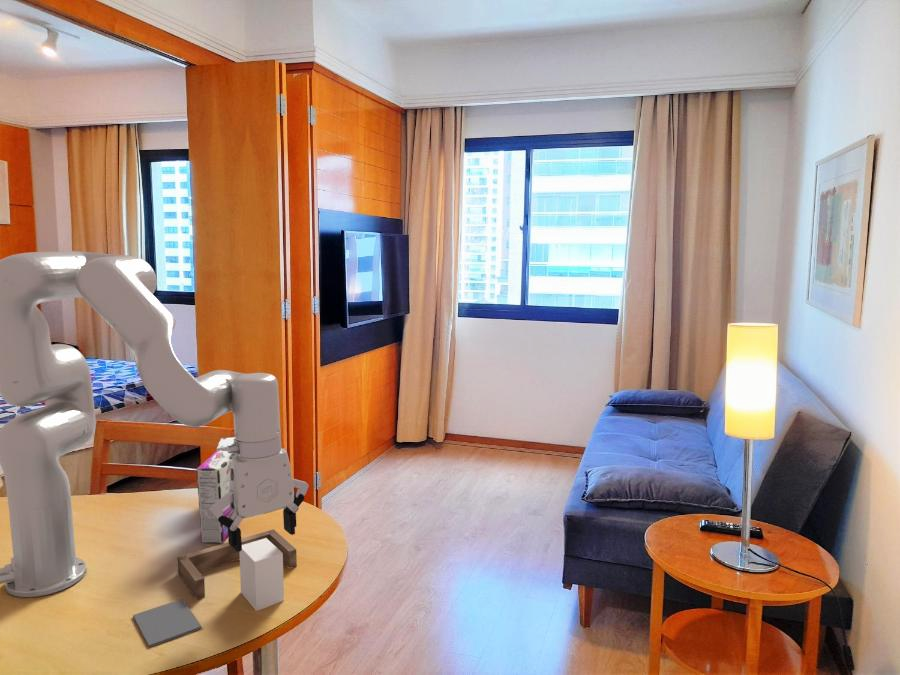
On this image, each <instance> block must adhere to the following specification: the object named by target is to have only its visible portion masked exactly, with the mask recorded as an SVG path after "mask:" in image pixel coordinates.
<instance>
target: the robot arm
mask: <svg viewBox="0 0 900 675" xmlns="http://www.w3.org/2000/svg"><path fill="white" fill-rule="evenodd" d="M157 286H158V278H157V275H156V272H155V270H154V269H153V267H152V266H151V265H150V263H148V262H147V261H146V260H144V259H143V258H140V257H138V256H135V255H125V254H111V253H103V252H102V253H100V252H89V251H78V250H77V251H76V250H72V251H71V250H63V251H61V250H60V251H34V252H33V251H32V252H31V251H30V252H22V253H16V254H11V255H9V256H6V257H4V258H2V259H0V396H1V398H2V399H3V401H5V403H6V404H8V405H10V406H13V407H18V408H20V407H21V408H22V407H23V408H24V407H29V406H35V405H38V404H41V403H44V405H45V406H43V407H39V408H35V409H33V410H31V411H30V410H29V411H28V412H25V413H22V414H20V415H18V416H16V417H13V418H12V419H10V420H8V421H7V422H6V423H5V424H4V425H3V426H2V427H1V428H0V467H1V470H2V472H3V473H2V474H3V477H4V481H5V489H6V496H7V506H8V513H9V523H10V524H9V525H10V534H11V535H10V536H11V543H12V555H13V557H11V558H10V563H9V564H5V565H4V567H0V585H1V584H4V583H5V590H6V592H7V593H8V594H10V595H12V596H14V597H20V598H35V597H42V596H46V595H50V594H55V593H58V592H59V591H62V590H65V589H67V588H69V587H71V586H74V585H75V584H77V583H78V582H79V581H81V579H82V578H83V577H84V576H85V575H86V573H87V564H86V562H85V560H83V559H81V558H79V557H77V556H76V554H77V553H76V544H75V532H74V519H73V506H72V495H71V484H70V480H69V477H68V474H67V473H66V471H65V470H64V468H63V467H62V466H61V464H60V460H59V459H60V458H61V457H63V456H64V455H66V454H68V453H71V452H72V451H74V450H77V449H79V448H80V447H82V446H84V445H85V444H87V442H89V441H90V440H91V439H92V437H93V435H94V433H95V430H96V423H97V422H96V418H97V417H96V410H95V408H96V407H95V400H94V392H93V391H94V390H93V382H92V375H91V369H90V366H89V363H88V361H87V359H86V358H85V356H84V355H83V353H81V351H79V350H78V349H77V348H75V347H74V346H73V345H69V344H65V343H55V344H52V342H51V333H50V326H49V324H48V323H49V322H47V319H46V317H45V316H44V313H43V312H42V311H41V310H40V308H38V305H39V304H42V303H46V302H47V303H48V302H54V301H63V300H68V299H70V300H71V299H79V298H81V299H84V301H85V302H86V303H87V304H88V305H89V306H90V307H91V308H92V309H93V310H94V311H95V312H96V313H97V315H99V316H100V317H101V318H102V320H104V322H105V323H106V324H107V325H109V326H110V328H111V329H112V330H113V331H114V332H115V333H116V334H117V335H118V336H119V337H120V338H121V339H122V340H123V341H124V342H125V343H126V345H128V346H129V348H130V350H132V353H133V354H134V355H133V356H134V362H135V366H136V370H137V373H138V374H139V378H140V380H141V382H142V384H143V386H144V388H145V389H146V391H147V392H148V394H150V396H151V397H152V398H153V400H154V401H155V402H157V403H158V405H159V406H160V407H161V408H163V409H164V411H165V412H166V413H167V414H168V415H170V416H171V417H172V418H173V419H175V421H177V422H179V423H180V424H182V425H184V426H187V427H192V428H194V427H195V428H196V427H197V428H198V427H203V426H206V425H207V424H209V423H212V422H213V421H215V420H216V419H217V418H220V417H221V416H224V415H226V414H230V413H231V412H232V414H233V430H234V433H233V434H234V437H235V439H234V443H233V444H232V445H230V446H227V452H228V453H229V454H230V453H233V454H234V453H235V454H236V455H234V456H233V457H232V462H231V469H230V480H229V493H227V494H226V495H225V496H224V497H222V498H221V499H220V500H218V501H217V502H216V503H215V504H213V505H212V506H211V507H210V511H211V512H212V514H213V515H214V516H215V518H216V519H217V520H218V521H219V522H220V523H221V524H223V525H224V526H226V527H227V528H228V538H227V539H228V541H227V542H229V545H230V546H231V547H233V548H234V549H235V550H236V551H237V552H240V551H241V550H242V541H241V539H242V531H241V529H240V528H239V526H240V524H241V523H242V521H243V520H244V519H251V518H254V517H258V516H262V515H266V514H269V513H273V512H275V511H278V510H282V509H283V510H282V517H283V529H284V530H285V531H286V532H287V533H288V534H289V535H291V536H293V535H295V534H296V528H297V512H298V511H299V507H300V505H302V503H303V502H304V500H305V496H306V494H307V492H308V489H309V484H308V483H307V482H306V481H304V480H299V479H296V478H293V474H292V469H291V463H290V460H289V459H290V458H289V455H288V451H287V450H286V449H285V448H283V447H282V434H281V432H282V431H281V430H282V429H281V416H280V414H281V413H280V395H279V382H278V379H277V377H276V376H275V375H273V374H271V373H267V372H266V373H265V372H252V373H243V372H237V371H232V370H225V369H217V370H211V371H208V372H207V373H204V374H202V375H199V376H197V377H194V375H193V374H191V372H189V370H188V369H187V368H186V367H185V366H184V365H183V364H182V363H181V362H180V360H179V359H178V357H177V355H176V354H175V352H174V349H173V346H172V335H173V332H174V330H175V327H176V323H177V322H176V317H175V316H174V315H173V314H172V312H170V311H169V309H167V308H166V306H165V305H164V304H163V303H162V302H161V300H159V299H158V298H157V297H156V296H155V295H154V293H155V292H156V289H157ZM294 488H295V489H297V490H296V492H295V490H294ZM229 504H230V508H231V509H232V511H231V512H230V514H229V515H228V517H226V516H225V515H224V514H223V513H222V510H223V509H224V508H225V507H227V506H228V505H229Z"/></svg>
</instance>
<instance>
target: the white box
mask: <svg viewBox="0 0 900 675" xmlns="http://www.w3.org/2000/svg"><path fill="white" fill-rule="evenodd" d="M239 571H240V572H239V575H240V576H239V577H240V593H241V594H242V596H243V597H244V598H245V599H246V601H247V602H248V603H249V604H250V605H251V606H252V607H253V608H254V610H255V611H260V610H262V609H265V608H269V607H271V606H273V605H276V604H279V603H283V602H284V601H285V590H284V563H283V553H282V552H281V551H280V550H279V549H278V548H277V547H276V546H274V545H273V544H272V543H271V542H270V541H269V540H268V539H267V538H264V539H261V540H258V541H254V542H251V543H247V544H244V545H242V550H241V551H240V560H239Z"/></svg>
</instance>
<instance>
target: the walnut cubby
mask: <svg viewBox="0 0 900 675" xmlns="http://www.w3.org/2000/svg"><path fill="white" fill-rule="evenodd" d="M264 538H267V539H268V540H269V541H270V542H271V543H272V544H273V545H274V546H276V547H277V548H278V549H279V550H280V551H281V552H282V553H283V565H285V566H286V567H287V566H288V567H289V568H290V569H292V568H295V567H294V566H296V567H297V563H298V562H297V556H298V555H297V548H295V547H294V546H293V545H292V544H291V543H290V542H288V541H287V540H286V538H284V537H283V536H282V535H281V534H279V533H278V531H276V530H275V529H270V530H266V531H263V532H261V533H256V534H253V535H249V536H245V537H243V538H242V537H241V541H242V545H244V544H247V543H251V542H254V541H258V540H261V539H264ZM176 559H177V574H178V576H179V577H180V579H181V580H182V581H183V583H184V584H185V585H186V588H188V590H189V591H190V593H191V594H192V596H193V597H194V598H195V600H199V599H202V598H206V591H205V590H206V588H205V587H206V586H205V578H204V576H203V575H202V574H201V572H204V571H206V570H210V569H209V568H211V569H214V568H217V567H220V566H224V565H226V563H227V564H231V563H234V562H237V561H240V552H237V551H236V550H235V549H234V548H233V547H231V546H230V545H229V541H227V542H226V543H225V542H224V543H220V544H218V545H214V546H211V547H207V548H204V549H203V548H202V549H200V550H197V551H193V552H190V553H187V554H184V555H183V554H182V555H179V556H177V558H176ZM223 564H224V565H223ZM213 567H214V568H213ZM288 567H287V568H288ZM289 568H288V569H289ZM203 570H204V571H203Z"/></svg>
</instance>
